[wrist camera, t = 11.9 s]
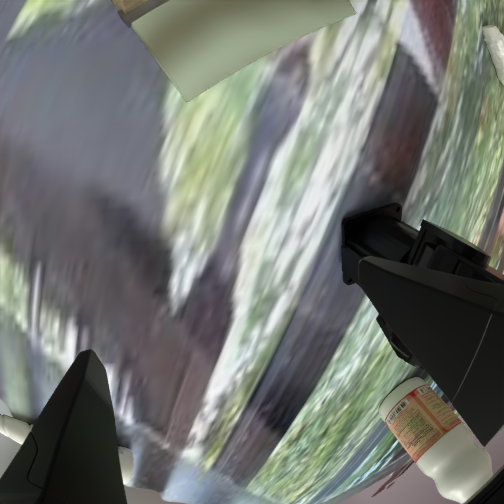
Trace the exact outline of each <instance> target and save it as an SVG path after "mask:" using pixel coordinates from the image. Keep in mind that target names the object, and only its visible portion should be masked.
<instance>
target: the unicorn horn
mask: <svg viewBox="0 0 504 504" xmlns="http://www.w3.org/2000/svg"><path fill="white" fill-rule="evenodd" d="M32 427H33V425H32V424H31V425H28V423H26V422H23V421H20V420H18V419H15V418H13V417H10V416H7V415H2V416H1V414H0V433H2V434H3V435H5V436H7V437H11V439H12V440H14V441H16V442H18V443H20V444H23V442H24V441H25V439H26V437H27V436H28V434H29V432H30V431H31V429H32ZM31 432H32V431H31ZM118 452H119V459H120V466H121V472H122V478H123V484H127V483H128V482H129V481H130V479H131V476H132V472H133V454H132V452H131V450H130V449H129V448H125V447H120V446H118Z"/></svg>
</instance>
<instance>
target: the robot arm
mask: <svg viewBox="0 0 504 504" xmlns="http://www.w3.org/2000/svg"><path fill="white" fill-rule="evenodd" d="M396 208H397V209H396ZM401 216H402V207H401V205H400V204H398V203H394V204H390V205H387V206H384V207H381V208H377V209H374V210H371V211H368V212H365V213H361V214H358V215H355V216H352V217H348V218H346V219H344V220H343V221H342V225H341V226H342V247H341V250H342V271H343V281H344V283H345V284H347V285H351V284H354V283H357V284H358V285H359V286H360V287H361V288H362V289H363V291H364V292H365V294H366V295H367V297H368V298H369V299H370V301H371V302H372V304H373V305H374V307H375V308H376V310H377V311H378V313H379V315H378V317H377V319H376V320H377V322H378V324H379V325H380V327H381V329H382V331H383V332H384V334H385V336H386V337H387V339H388V341H389V343H390V344H391V346H392V348H393V350H394V351H395V352H396V354H397V356H398V357H399V358H401V359H403V360H404V361H405V362H407V363H409V364H411V365H413V366H416V367H419V368H422V369H424V370H426V372H427V373H428V374H429V375H430V377H431V378H432V379H433V380H434V382H435V383H436V384H437V385H438V387H439V388H440V389H441V391H442V392H443V393H444V394H445V396H446V397H447V398H448V400H449V401H450V402H451V403H452V405H453V406H454V408H455V409H456V410H457V412H458V413H459V414H460V415H461V417H462V418H463V420H464V421H465V422H466V423H467V425H468V426H469V427H470V429H471V430H472V432H473V433H474V434H475V436H476V437H477V439H478V440H479V441H480V443H481V444H482V445H483V446H484V447H485V446H486V445H487V444H488V443H489V442H490V441H491V440H492V439H493V438H494V437H495V436H496V435H497V434H498V433H499V432H500V431H501V430H502V428H504V275H503V274H502V273H500V272H498V271H497V270H495V269H494V268H492V267H490V266H489V265H488V263H489V261H490V258H491V256H490V255H488V254H487V253H486V252H484V251H483V250H481V249H480V248H479V247H477V246H476V245H474V244H473V243H471V242H469V241H468V240H466V239H464V238H462V237H460V236H458V235H457V234H455V233H453V232H451V231H449V230H446V229H444V228H442V227H440V226H437V225H435V224H433V223H431V222H428V221H426V220H424V219H423V220H422V223H421V225H420V226H421V228H420V231H418V230H417V229H415V228H413V227H411V226H409V225H408V224H406V223H404V222H402V221H401ZM348 223H349V225H348V226H347V224H348ZM31 431H32V432H31ZM31 431H30V432H29V434H28V436H27V437H26V439H25V441H24V442H23V444H22V446H21V447H20V449H19V451H18V452H17V454H16V456H15V457H14V459H13V460H12V462H11V463H10V465H9V466H8V468H7V469H6V471H5V472H4V474H3V475H2V477H1V478H0V504H127V500H126V495H125V490H124V484H123V478H122V472H121V466H120V459H119V452H118V444H117V436H116V426H115V417H114V411H113V406H112V401H111V395H110V390H109V384H108V379H107V373H106V370H105V367H104V366H103V364H102V363H101V361H100V360H99V358H98V357H97V355H96V353H95V352H94V351H93V350H91V349H89V350H85V351H82V352H80V353H79V355H78V356H77V357H76V359H75V360H74V362H73V363H72V365H71V366H70V368H69V369H68V371H67V372H66V374H65V376H64V377H63V379H62V380H61V382H60V383H59V385H58V386H57V388H56V389H55V391H54V393H53V394H52V396H51V397H50V399H49V401H48V402H47V404H46V405H45V407H44V409H43V410H42V412H41V414H40V415H39V417H38V419H37V420H36V422H35V424H34V425H33V427H32V429H31ZM463 504H504V465H503V466H502V467H501V468H500V469H499V470H498V471H497V472H496V473H495V474H494V475H493V476H492V477H491V478H490V479H489V480H488V481H487V482H486V483H485V484H484V485H483V486H482V487H481V488H480V489H479V490H478V491H477V492H475V493H474V494H473V495H472V496H471V497H470V498H469V499H468V500H466V501H465V502H464V503H463Z"/></svg>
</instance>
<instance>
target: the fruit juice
mask: <svg viewBox="0 0 504 504" xmlns="http://www.w3.org/2000/svg"><path fill="white" fill-rule="evenodd" d="M379 414H380V416H381V418H382V419H383V421H384V422H385V423H386V425H387V426H388V427H389V429H390V430H391V431H392V433H393V434H394V435H395V437H396V438H397V439H398V440H399V442H400V443H401V444H402V446H403V447H404V448H405V450H406V451H407V452H408V454H409V455H410V456H411V458H412V459H413V460H414V462H415V463H416V464H417V466H418V467H419V468H420V469H421V470H422V472H423V473H424V474H426V475H427V476H429V477H431V478H432V479H433V480H434V481H435V484H436V487H437V489H438V491H439V493H440V494H441V495H442V496H443V497H445V498H446V499H450V500H454V501H457V502H459V503H461V504H463V503H464V502H465V501H466V500H468V499H469V498H470V497H471V496H472V495H473V494H474V493H475V492H477V491H478V490H479V489H480V488H481V487H482V486H483V485H484V484H485V483H486V482H487V481H488V480H489V479H490V478H491V477H492V476H493V473H492V466H491V457H490V455H489V454H488V452H487V451H486V450H485V449H483V448H482V447H480V446H478V445H477V444H476V443H475V442H474V440H473V436H472V434H471V432H470V431H469V429H468V428H467V427H466V426H465V425H464V423H463V422H462V421H461V420H460V419H459V418H458V417H457V416H456V415H455V414H454V412H453V411H452V410H451V409H450V408H449V407H448V406H447V405H446V404H445V403H444V401H443V400H442V399H441V398H440V397H439V396H438V395H437V394H436V393H435V392H434V391H433V390H432V388H431V387H430V386H429V385H428V384H427V383H426V382H425V381H424V380H423V379H421V378H420V377H413V378H410V379H408V380H406V381H405V382H403V383H402V384H400V385H399V386H398V387H396V388H395V389H394V390H393V391H392V392H391V393H390V394H389V395H388V396H387V397H386V398H385V400H384V401H383V402H382V404H381V406H380V408H379Z"/></svg>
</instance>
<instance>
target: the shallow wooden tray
mask: <svg viewBox="0 0 504 504" xmlns="http://www.w3.org/2000/svg"><path fill="white" fill-rule="evenodd" d="M111 1H112V2H113V4H114V5H115V6H116V7H117V9H118V10H119V11H118V14H119V15H120V17H121V19H122V20H123V21H124V23H125V24H126V25H127V26H128V27H132V29H133V30H134V31H135V33H136V34H137V35H138V37H139V38H140V39H141V41H142V42H143V43H144V45H145V46H146V47H147V49H148V50H149V51H150V53H151V54H152V55H153V57H154V58H155V60H156V61H157V62H158V64H159V65H160V66H161V68H162V69H163V70H164V72H165V73H166V75H167V76H168V77H169V79H170V80H171V82H172V83H173V84H174V86H175V87H176V89H177V90H178V91H179V93H180V94H181V95H182V97H183V98H184V100H185V101H186V102H189V101H190V100H192V99H193V98H195V97H196V96H198V95H200V94H201V93H203V92H204V91H206V90H207V89H209V88H210V87H212V86H214V85H215V84H217V83H218V82H220V81H222V80H223V79H225V78H227V77H228V76H230V75H231V74H233V73H235V72H237V71H238V70H240V69H242V68H243V67H245V66H247V65H249V64H251V63H252V62H254V61H256V60H258V59H260V58H261V57H263V56H265V55H267V54H269V53H271V52H273V51H275V50H276V49H278V48H280V47H282V46H284V45H286V44H288V43H290V42H292V41H294V40H297V39H299V38H301V37H303V36H305V35H307V34H309V33H311V32H314V31H316V30H318V29H320V28H323V27H325V26H327V25H330V24H332V23H334V22H337V21H339V20H342V19H344V18H347V17H349V16H352V15H354V14H356V12H355V10H354V8H353V7H352V5H351V3H350V1H349V0H111Z"/></svg>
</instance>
